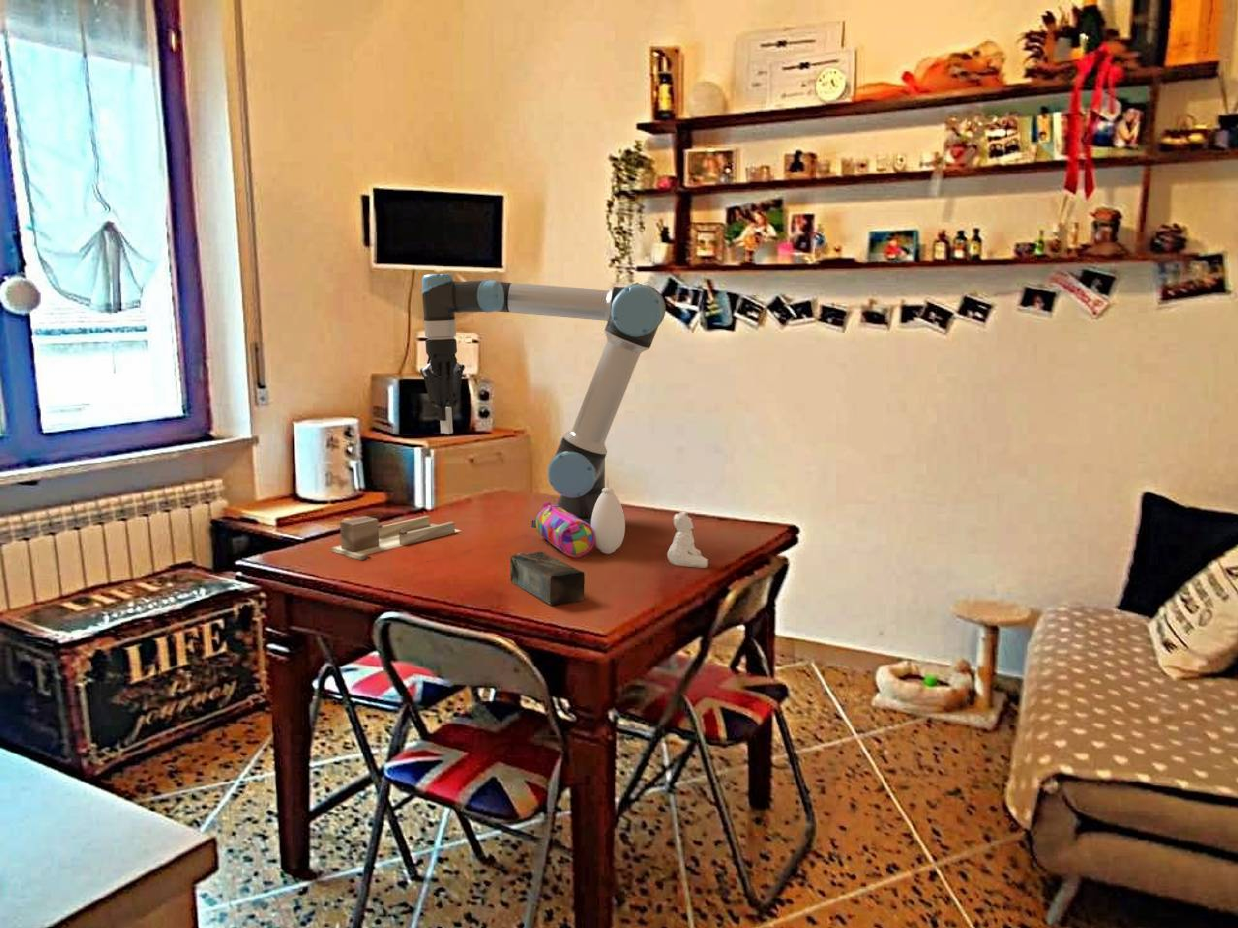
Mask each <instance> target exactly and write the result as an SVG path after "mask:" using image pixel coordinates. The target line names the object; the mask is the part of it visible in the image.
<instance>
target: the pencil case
mask: <svg viewBox="0 0 1238 928" xmlns="http://www.w3.org/2000/svg"><path fill="white" fill-rule="evenodd" d="M542 507H543V509H541V510H540V512H538V514H537V515H536V518H535V520H534V519H531V528H534V529H536V531H537V533H538V534H539V535H540V536H541V537H543V539H545V540H547V542H548V543H550V544H551V545H552V546H554V547H555V548H556V549H558V550H559V551H561V552H562V553H563V554H565V555H566V556H569V557H570V558H580V557H583V556H586V555H587V554H588V553H590V551H591V550H592V549H593V548H594V546H595V544H594V542H595V537H594V532H593V529H592V527H591V526H590V525H589V524H588V523H587V522H584V521H582V520H581V519H579V518H578V517H576V516H575V515H573V514H571V513H568V512H566V511H565V510H564V508H563V507H561V506H558V504H552V502H551V501H547V502H543V503H542Z"/></svg>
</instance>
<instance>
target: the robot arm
mask: <svg viewBox="0 0 1238 928" xmlns="http://www.w3.org/2000/svg"><path fill="white" fill-rule="evenodd" d="M421 300H422V311H423V324H424V337H426V338H427V339H425V353H426V355H427V357H428V358H427V361H426V365H425V367H421V368H420V369H419V372H420V374H421V376H422V378H423V380H424V385H425V389H426V392H427V395H428V399H429V405H430V406H431V407H432V406H433V407H434V408H437V418H438V421H440V423H439V425H440V434H444V435H451V434H454V433H453V432H454V429H453V420H454V417H455V416H454V408H455V407H457V404H459V403H460V400H461V399H460V396H461V387H462V379H463V374H464V371H465V368H466V366H465V365H464V364H461V363H459V362H458V358H457V356H456V354H457V352H458V347H457V346H458V345H457V339H456V338H455V337H456V336H457V330H456V329H457V327H456V317H455V316H456V313H457V314H461V313H465V314H466V313H493V312H496V313H497V312H498V313H506V314H507V313H512V314H513V313H514V314H523V315H532V316H533V315H535V316H545V317H546V316H547V317H557V318H558V317H560V318H570V319H580V320H581V319H582V320H592V321H593V320H595V321H605V322H607V323H606V325H605V329H604V331H603V332H604V333H605V336H606V343H605V345H604V348H603V349H602V350H603V351H602V352H601V356H600V358H599V361H598V363H597V366H596V368H595V371H594V374H593V376H592V379H591V381H590V383H589V386H588V388H587V391H586V394H585V396H584V399H583V401H582V405H581V407H580V408H579V411H578V413H577V416H576V418H575V421H574V424H573V427H572V429H571V430H570V431H568V432H565V433H563V435H562V437H561V438H560V443H559V445H558V447H557V450H556V452H555V455H554V456H553V458H552V460H550V462H549V464H548V466H547V467H548V468H547V478H548V479H547V480H548V481H549V484H550V486H551V488H552V489H553V490H554V491H555V492H557V494H559V495H560V496H559V499H558V502H557V505H558V506H561V507H563V508H564V510H565V511H566V512H568V513H571V514H573V515H575V516H576V517H578V518H579V519H581V520H582V521H584V522H587V523H588V524H589V525H590V526H591V516H592V512H593V509H594V506H595V503H596V501H597V499H598V497H599V496H600V494H601V493H602V489H603V488H606V463H605V462H606V457H607V455H608V449H607V447H606V445H605V444H606V443H605V442H606V440H607V438H608V435H609V433H610V430H611V427H612V425H613V422H614V420H615V418H616V415H617V412H618V410H619V408H620V405H621V403H622V401H623V398H624V396H625V393H626V390H627V389H628V385H629V383H630V381H631V379H632V376H633V373H634V370H635V368H636V365H637V363H638V360H639V358H640V356H641V354H642V353H644V352H646V351H648V350H650V348H651V345H652V343H653V341H654V337H655V336H656V333H657V331H658V328H659V326H660V325H661V324H662V322H663V321H664V318H665V315H666V311H667V309H666V302H665V300H664V297H663V295H662V294H661V293H660V291H658V290H657V289H656V288H654V287H653V286H650V285H646V284H643V283H641V284H640V283H637V284H635V283H634V284H631V285H628V286H625V287H624V286H623V287H622V286H620V287H619V286H612V287H611V288H610V289H609V290H608V289H607V290H606V289H596V288H595V289H594V288H582V287H581V288H580V287H570V286H554V285H545V284H544V285H543V284H529V283H516V282H507V281H506V282H503V281H498V280H490V279H483V280H469V281H467V280H466V281H455V280H454V278H453V275H452V273H430V274H429V273H428V274H425V275H423V276H422V278H421Z"/></svg>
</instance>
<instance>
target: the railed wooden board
mask: <svg viewBox="0 0 1238 928" xmlns="http://www.w3.org/2000/svg"><path fill="white" fill-rule="evenodd" d="M455 523H456V522H455V521H447V522H444V523H440V524H437V523H431V518H430V515H424V516H419V517H414V518H411V519H406V520H402V521H397V522H393V523H388V524H384V525H383V524H380V523H378V527H379V546H378V547H374V548H370V549H366V550H362V551H357V552H351V551H348V550H345V549H341V544H339V545H336V546H332V547H331V552H333V553H335V554H338V555H342V556H346V557H349V558H352V559H355V560H359V561H363V560H367V559H371V558H372V557H371V556H368V555H371V554H375V553H379V552H384V551H387V550H392V549H395V548H399V547H400V548H401V547H403V546H406V545H407V546H408V545H411V544H415V543H420V542H422V541H423V542H424V541H428V540H431V539H435V538H439V537H443V536H447V535H453V534H456V533H458V532H459V533H460V532H462V530H461V529H456V524H455Z"/></svg>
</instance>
